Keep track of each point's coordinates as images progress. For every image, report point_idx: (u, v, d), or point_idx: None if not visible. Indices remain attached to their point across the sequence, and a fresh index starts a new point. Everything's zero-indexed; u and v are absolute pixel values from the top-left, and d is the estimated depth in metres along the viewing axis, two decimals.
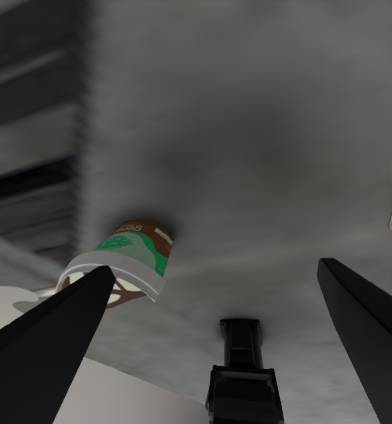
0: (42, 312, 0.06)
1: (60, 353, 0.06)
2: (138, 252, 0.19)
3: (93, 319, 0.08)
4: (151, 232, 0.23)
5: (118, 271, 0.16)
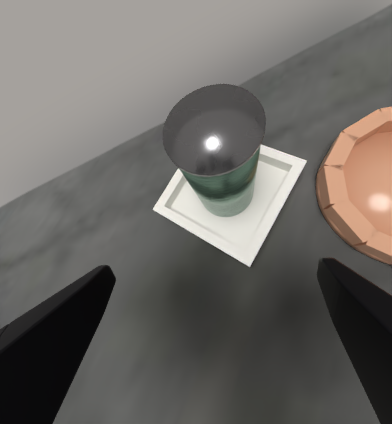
0: (42, 312, 0.06)
1: (60, 353, 0.06)
2: None
3: (93, 319, 0.08)
4: None
5: None
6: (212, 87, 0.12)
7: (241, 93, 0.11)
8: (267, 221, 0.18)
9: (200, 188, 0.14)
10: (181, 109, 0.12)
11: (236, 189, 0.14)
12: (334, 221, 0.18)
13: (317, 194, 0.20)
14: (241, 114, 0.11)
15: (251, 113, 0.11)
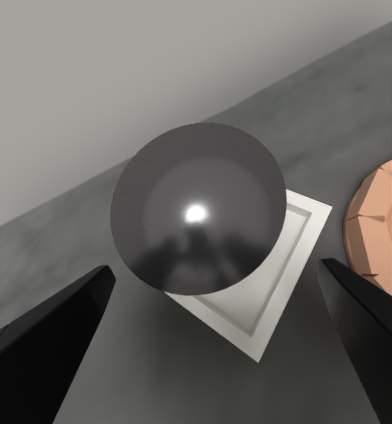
0: (42, 312, 0.06)
1: (60, 353, 0.06)
2: None
3: (93, 319, 0.08)
4: None
5: None
6: (192, 128, 0.07)
7: (241, 139, 0.07)
8: (281, 293, 0.13)
9: None
10: (143, 164, 0.07)
11: None
12: None
13: (346, 249, 0.15)
14: (241, 179, 0.06)
15: (259, 178, 0.06)
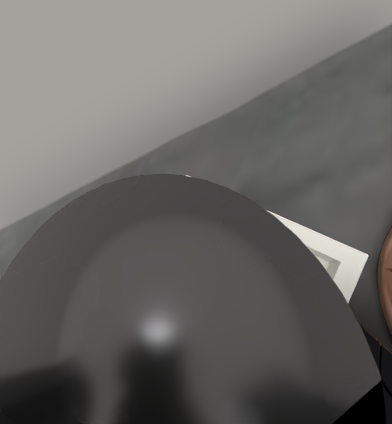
0: None
1: None
2: None
3: None
4: None
5: None
6: (145, 185, 0.03)
7: (250, 225, 0.03)
8: None
9: None
10: (43, 260, 0.04)
11: None
12: None
13: (385, 307, 0.11)
14: (254, 345, 0.02)
15: (304, 356, 0.02)
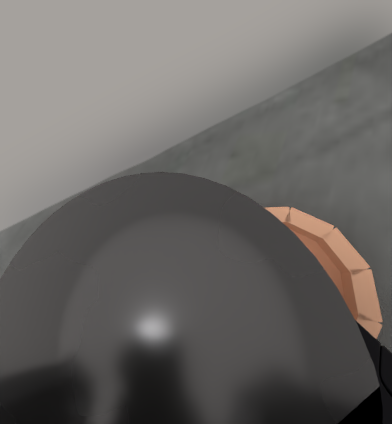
0: None
1: None
2: None
3: None
4: None
5: None
6: (144, 183, 0.03)
7: (249, 222, 0.03)
8: None
9: None
10: (43, 258, 0.04)
11: None
12: None
13: None
14: (252, 341, 0.02)
15: (300, 351, 0.02)
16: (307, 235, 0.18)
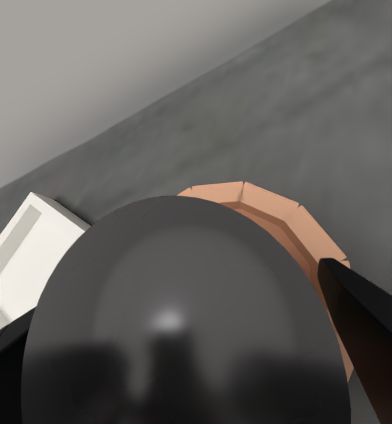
0: None
1: None
2: None
3: None
4: None
5: None
6: (166, 204, 0.04)
7: (250, 238, 0.04)
8: None
9: None
10: (84, 264, 0.04)
11: None
12: None
13: None
14: (253, 328, 0.03)
15: (288, 335, 0.03)
16: (267, 219, 0.14)
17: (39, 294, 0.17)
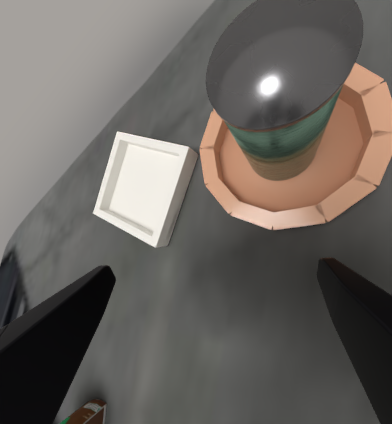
0: (42, 312, 0.06)
1: (60, 353, 0.06)
2: None
3: (93, 319, 0.08)
4: (77, 411, 0.26)
5: None
6: (261, 1, 0.09)
7: None
8: (164, 208, 0.22)
9: (262, 149, 0.11)
10: (224, 50, 0.09)
11: (310, 139, 0.11)
12: None
13: None
14: (316, 22, 0.08)
15: (333, 14, 0.07)
16: None
17: (144, 198, 0.25)
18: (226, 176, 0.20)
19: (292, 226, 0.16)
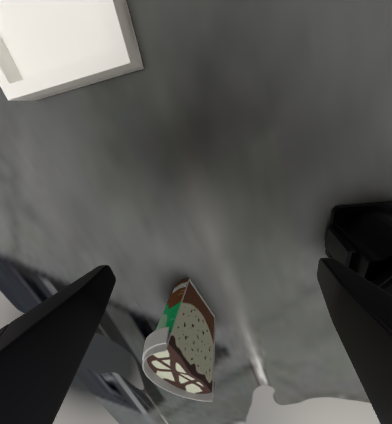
0: (42, 312, 0.06)
1: (60, 353, 0.06)
2: (158, 326, 0.23)
3: (93, 319, 0.08)
4: (170, 297, 0.27)
5: (144, 355, 0.21)
6: None
7: None
8: None
9: None
10: None
11: None
12: None
13: None
14: None
15: None
16: None
17: (57, 10, 0.14)
18: None
19: None
